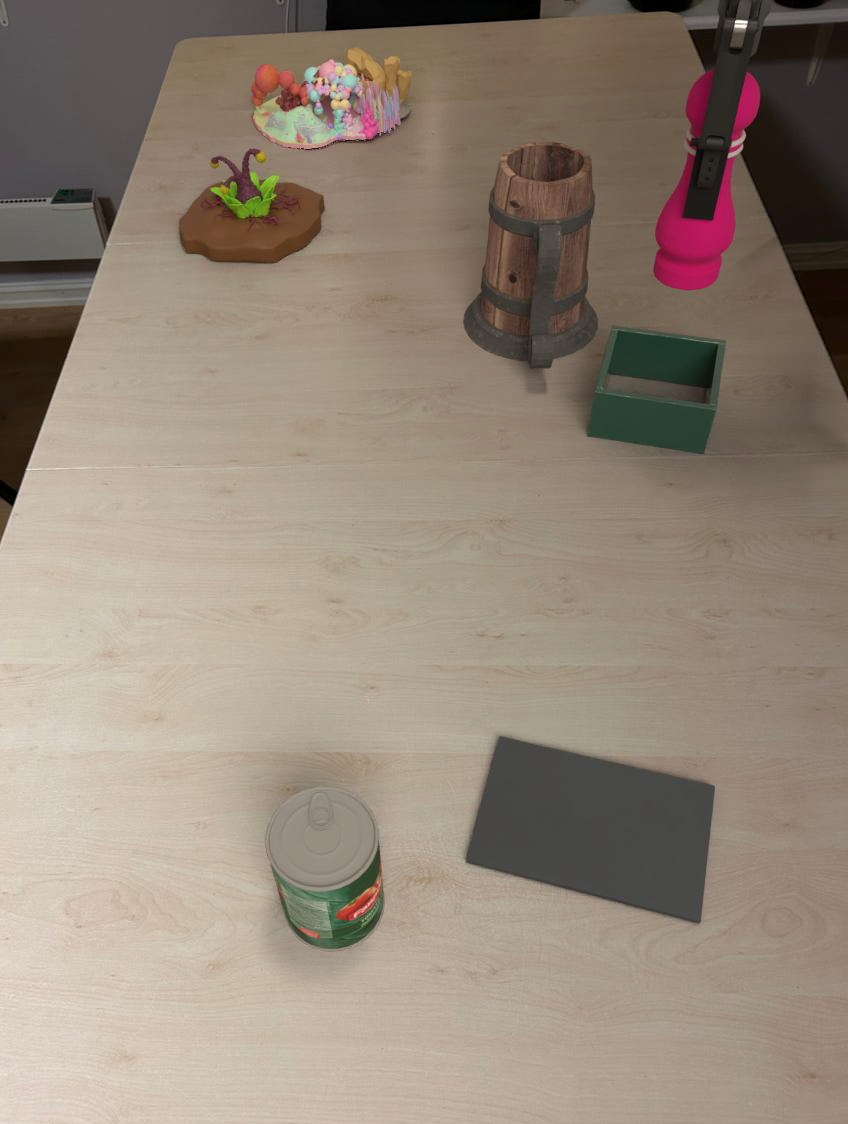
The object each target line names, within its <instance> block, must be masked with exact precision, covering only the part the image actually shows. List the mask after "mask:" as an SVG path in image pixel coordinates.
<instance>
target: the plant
mask: <svg viewBox="0 0 848 1124" xmlns="http://www.w3.org/2000/svg"><path fill="white" fill-rule="evenodd" d="M252 155H253V157H254V159H255V160H256V162H257V163H260V164H264V163H266V160H267V155H266V154H265V152H264V151H262V150H261V149H258V148H253V147H252V148H249V149H248V150H247V151H245V154H244V156H243V158H242V162H241V164H242V165H241V170H240V169H239V168H238V166H237V165H236V164H235V163H234V162H233V161H232V160H230V159H229V158H227V157H225V156H223V155H217V156H213V157H212V158H211V159H210V161H209V165H210V167H211V168H212V169H217V168H218V167H219V166H220V162H224V164H226V165H227V166H228V168H229V169H230V170H231V171H232V172H231V173H233V175H231V176H229V177H228V178H227V179H223V181H219V182H217V183H214V184H211V185H210V186H208V187H206V188H205V189H204V190H203V191H202V192H201V193H200V194H199V196H197V197H196V198H195V199H194V201H193V202H192V204H190V206H189V208H188V209H187V211H186V213H184V214H183V215H182V216H181V217H180V218H179V220H178V225H179V226H178V233H179V237H180V241H181V243H182V245H183V246H184V250H185V253H186V254H200V255H203V256H205V257H207V258H208V259H209V260H210V261H213V262H249V263H250V262H251V263H266V264H267V263H270V264H271V263H273V264H275V263H278V262H279V261H281V260H282V259H284V258H285V257H287V256H289V255H290V254H292V253H294V252H298V251H300V250H302V249H304V248H305V247H306V246H308V245H309V244H310V243H311V241H312V240H313V239H314V237H316V236H317V235H318V233H319V232H320V231H321V229H322V214H323V212H325V210H324V209H326V207H325V198H324V195H323V194H321V193H319V192H316V191H314V190H313V189H309V188H307V187H304V186H302V185H300V184H297V183H295V182H288V181H287V182H285V181H284V182H283V181H281V182H278V181H279V180H280V175H279V174H274V175H271V176H269V177H268V178H265V179H259V178H258V174H257V173H256V172H255V171H251V169H250V166H249V165H250V163H249V161H250V156H252ZM250 171H251V172H250Z"/></svg>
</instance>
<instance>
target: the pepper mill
mask: <svg viewBox="0 0 848 1124" xmlns="http://www.w3.org/2000/svg"><path fill="white" fill-rule="evenodd" d="M714 71H715V68H713V69H710V70H707V71H706V72H705V73H703V74H701V75H700V76H699V77H698V78H697V79H696V80H695V82H694V83H693V85H692V86H691V87H690V89H689V92H688V96H687V99H686V101H685V102H686V103H685V104H686V105H685V116H686V119H687V120H688V123H690V124H689V125H690V126H689V127H688V128H687V129H686V134H685V135H686V139H685V140H684V142H683V143H684V144H683V146H684V149H685V150H686V152H687V154H686V161H685V165H684V168H683V172H682V174H681V177H680V178H679V181H678V183H677V185H676V187H675V188H674V190H673V192H672V193H671V195H670V197H669V198H668V199H667V201H666V203H665V204H664V205H663V207H662V209H661V211H660V214H659V216H658V218H657V222H656V225H655V229H654V237H655V241H656V243H657V245H658V247H659V249H657V251H656V253H655V257H654V263H653V267H652V273H653V275H654V277H655V278H656V280H657V281H658V282H660V283H661V284H662V285H664V286H666V287H669V288H672V289H675V290H679V291H680V290H681V291H697V290H702V289H706V288H708V287H710V286H712V285H714V283H715V282H716V281H718V278H719V276H720V272H721V267H722V262H723V257H722V254H723V253H725V252H726V251H727V250H728V249H729V248H730V246H731V245H732V243H733V240H734V238H735V232H736V211H735V207H734V201H733V195H732V185H731V184H732V173H733V167H734V163H735V160H736V156H738V155H739V154H741V152H742V151H743V149H744V141H745V139H746V137H747V133H746V131H745V129H746V128H748V127H749V126H750V125H751V124H752V123H753V122H754V119H755V118H756V117H757V115H758V112H759V108H760V103H761V89H760V86H759V84H758V81H757V80H756V78H755V77H754V76H753V75H752V74H751V73H750V72H748V71H747V72H746V77H745V81H744V85H743V90H742V94H741V98H740V102H739V107H738V111H737V115H736V120H735V124H734V128H733V133H732V137H731V139H732V145H731V147H730V150H729V154H728V158H727V163H726V167H725V171H724V175H723V180H722V184H721V188H720V193H719V197H718V201H717V205H716V210H715V214H714V218H713V221H710V220H700V219H690V218H682V217H683V212H684V207H685V202H686V197H687V192H688V188H689V183H690V178H691V173H692V168H693V163H694V159H695V154H696V149H697V147H691V146H690V142H691V138H699V136H700V135H701V133H702V128H703V124H704V119H705V114H706V109H707V104H708V100H709V95H710V90H711V85H712V80H713V76H714Z"/></svg>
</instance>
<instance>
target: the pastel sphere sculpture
mask: <svg viewBox="0 0 848 1124" xmlns="http://www.w3.org/2000/svg"><path fill="white" fill-rule="evenodd" d="M400 66H401V58H399V57H398V56H396V55H390V56H389V57H388V58H384V60H383V68H382V67H381V66H380V64H379V63H378V62H376V61H375V60H374V59H373V58H372V56H371V54H369V53H366V52H365V51H364V50H362V49H361V47H359V46H357V47H352V48H348V50H347V52H346V55H345V64H343V63H341V62H340V61H335V60H334V59H332V58H330V59H329V60H328V61H325V62H323V63H322V64H320V65H318V66H317V67H315V66H310V67H308V68H307V69H306V70H305V71H304V74H303V79H302V83H301V85H300V84H299V83H297V82H296V80H295V79H296V78H295V75H294V74H293V72H292V71H290V70H282V71H281V72H280V73H279V71H278V69H277V68H276V66H275V65H273V64H271V63H263V64H260V66H258V67H257V68H256V71H255V73H254V81H253V82H252V85H251V89H250V90H251V93H252V96H251V103H252V104H253V105H254V108H255V110H254V111H253V113H254V114H253V115H252V120H253V123H254V127H255V128H256V129H257V131H259V132H261V135H262V137H265V138H267V140H268V141H269V142H270V143H274V144H277V145H279V146H281V147H282V148H288V147H291V148H290V149H297V148H300V149H299V150H302V149H301V148H304V149H303V150H305V149H311V148H318V147H322V146H324V145H327V144H329V143H330V142H333V141H334V140H339V141H343V140H342V139H346V140H348V139H349V140H354V139H362V140H363V139H369V140H368V141H371V140H372V139H374V137H375V136H377V135H378V134H377V133H380V134H379V137H380V136H381V137H382V134H384V133H386V134H388V133H390V134H391V131H392V129H393V131H396V125H397V127H398V126H399V125H401V119H404V118H406V117H407V116H408V115H409V113H410V112H411V111H412V109H411V108H410V107H411V105H410V104H409V103H408V102H406V101H404V100H405V99H406V97H407V95H408V92H409V89H410V86H411V81H412V75H413V71H404V69H402V70H400ZM279 86H280V87H281V88H282V90H281V91H280V95H277V96H275V97H272V98H271V99H269V100H267V101H265V102H264V98H266V97H267V95H268V94H271V93H274V92H275V91H276V90H277V89H278V88H279ZM401 126H402V125H401ZM399 127H400V126H399ZM391 128H392V129H391ZM381 132H382V133H381ZM387 132H388V133H387ZM373 136H374V137H373ZM370 139H371V140H370ZM329 145H330V144H329Z"/></svg>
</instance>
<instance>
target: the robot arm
mask: <svg viewBox="0 0 848 1124" xmlns="http://www.w3.org/2000/svg"><path fill="white" fill-rule="evenodd" d="M772 4H773V0H719V2H718V6H717V14H718V21H717V27H716V32H715V37H714V41H713V45H712V51H713V53H714V54H715V55H716V56H717V57H716V62H715V67H714V69H715V71H714V76H713V80H712V85H711V90H710V95H709V100H708V104H707V109H706V114H705V119H704V124H703V128H702V133H701V135H700V136H699V138H691V142H690V146H691V147H697V149H696V154H695V159H694V163H693V168H692V173H691V178H690V183H689V188H688V192H687V197H686V202H685V207H684V212H683V217H682V218H690V219H700V220H710V221H713V218H714V214H715V210H716V205H717V201H718V197H719V193H720V188H721V184H722V180H723V175H724V171H725V167H726V163H727V158H728V154H729V150H730V147H731V145H732V139H731V137H732V133H733V128H734V124H735V120H736V115H737V111H738V107H739V102H740V98H741V94H742V90H743V85H744V81H745V77H746V72H748V67H749V63H750V59H751V57H753V56H754V55H756V54H757V52H758V50H759V49H758V48H759V45H760V41H761V36H762V32H763V26H764V23H765V19H766V18H767V17H768V16H769V15H770V12H771V7H772Z"/></svg>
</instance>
